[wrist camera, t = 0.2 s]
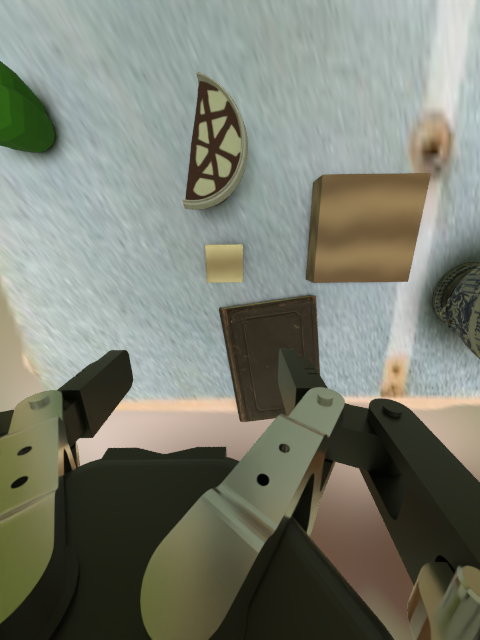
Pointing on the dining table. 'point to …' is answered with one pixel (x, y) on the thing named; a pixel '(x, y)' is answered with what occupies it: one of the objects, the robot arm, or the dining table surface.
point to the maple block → (224, 263)
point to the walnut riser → (365, 226)
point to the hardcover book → (267, 350)
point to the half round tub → (215, 147)
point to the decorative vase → (461, 303)
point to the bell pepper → (22, 116)
